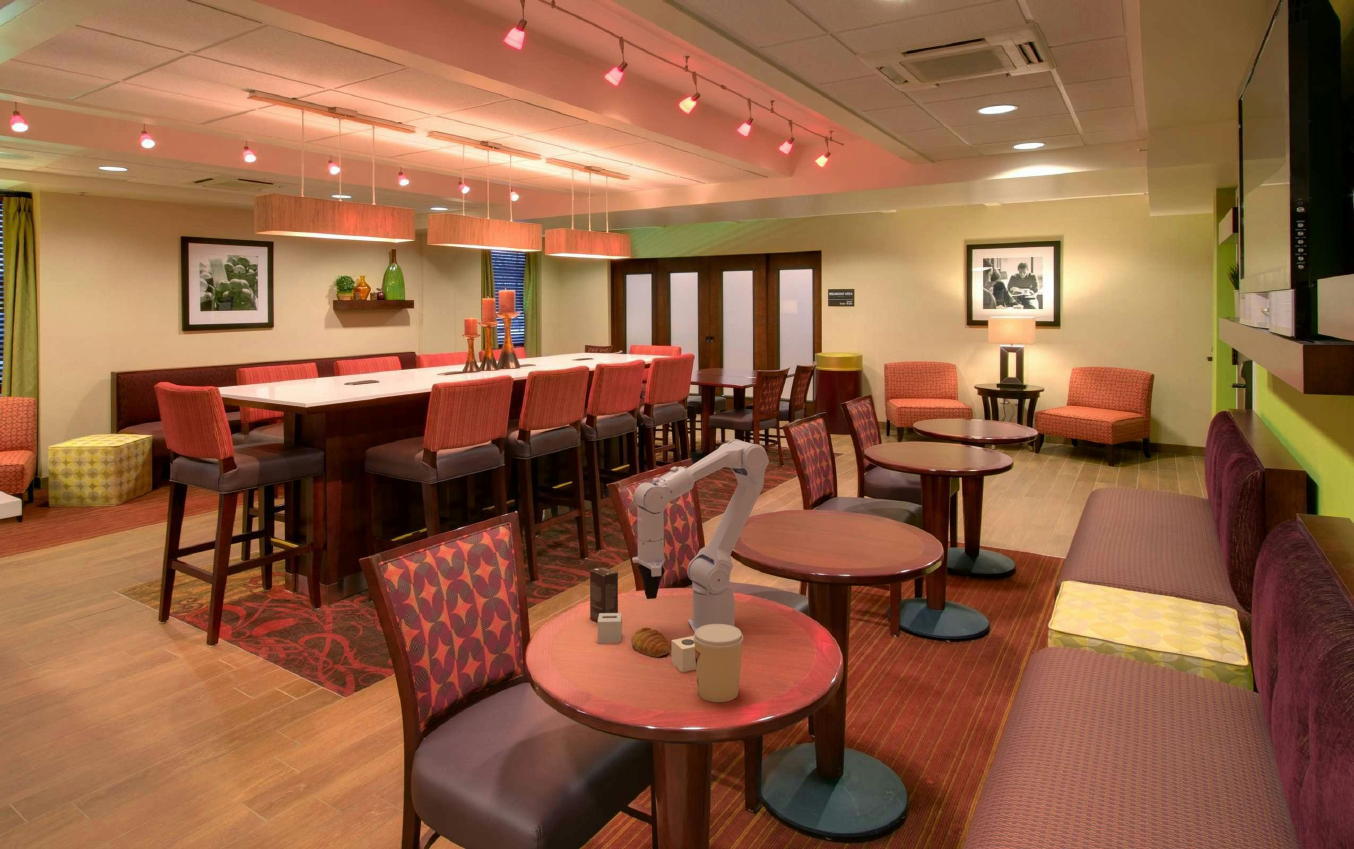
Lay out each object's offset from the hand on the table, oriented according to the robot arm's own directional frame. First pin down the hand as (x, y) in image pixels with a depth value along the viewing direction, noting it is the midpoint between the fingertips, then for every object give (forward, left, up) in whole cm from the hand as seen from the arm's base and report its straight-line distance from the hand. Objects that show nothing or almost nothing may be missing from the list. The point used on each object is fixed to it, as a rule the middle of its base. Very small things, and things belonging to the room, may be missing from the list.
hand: (651, 597), depth 176 cm
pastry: (+1, +5, -10) cm, 11 cm away
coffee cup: (-8, +28, -10) cm, 31 cm away
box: (+9, -13, -10) cm, 18 cm away
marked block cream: (-5, +15, -10) cm, 18 cm away
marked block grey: (+9, -2, -10) cm, 13 cm away
